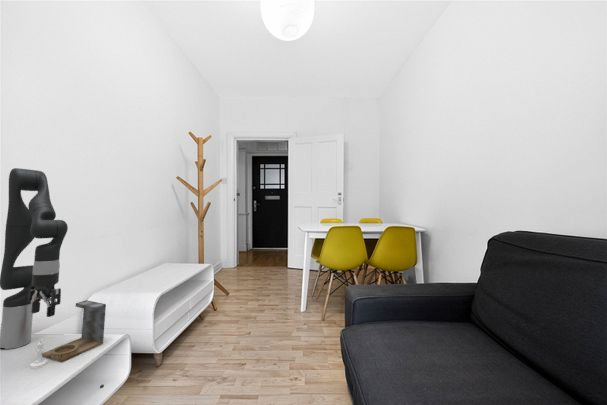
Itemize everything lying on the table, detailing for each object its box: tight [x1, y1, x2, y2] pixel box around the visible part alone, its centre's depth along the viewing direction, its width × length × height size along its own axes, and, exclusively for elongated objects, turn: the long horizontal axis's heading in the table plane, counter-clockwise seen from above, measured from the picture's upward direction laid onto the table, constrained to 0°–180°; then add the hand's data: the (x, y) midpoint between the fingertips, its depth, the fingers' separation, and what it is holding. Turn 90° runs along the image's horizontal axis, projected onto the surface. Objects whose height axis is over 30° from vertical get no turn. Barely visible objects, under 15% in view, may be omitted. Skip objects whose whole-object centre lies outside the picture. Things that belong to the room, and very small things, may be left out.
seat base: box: [42, 300, 107, 363], centre depth 115 cm, size 12×16×18 cm
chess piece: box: [29, 337, 49, 369], centre depth 104 cm, size 5×5×10 cm
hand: (42, 314), depth 104 cm, fingers open, 8 cm apart
